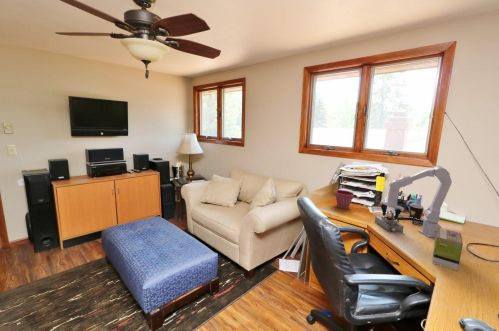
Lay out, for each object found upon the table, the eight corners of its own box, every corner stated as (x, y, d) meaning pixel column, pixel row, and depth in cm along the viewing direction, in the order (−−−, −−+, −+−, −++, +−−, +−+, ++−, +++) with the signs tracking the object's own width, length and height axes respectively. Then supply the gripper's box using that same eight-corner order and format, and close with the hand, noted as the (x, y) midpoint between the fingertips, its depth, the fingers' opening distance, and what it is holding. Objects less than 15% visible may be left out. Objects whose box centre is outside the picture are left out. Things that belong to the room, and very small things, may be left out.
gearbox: (404, 233, 149) (406, 225, 148) (389, 232, 149) (390, 224, 148) (388, 221, 167) (389, 214, 166) (374, 221, 167) (375, 214, 166)
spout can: (394, 221, 158) (395, 211, 156) (389, 221, 157) (391, 211, 155) (389, 218, 162) (390, 209, 160) (384, 219, 160) (386, 209, 159)
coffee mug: (424, 221, 170) (426, 208, 168) (412, 221, 170) (414, 208, 168) (413, 215, 181) (415, 203, 179) (402, 214, 181) (404, 202, 179)
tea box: (432, 251, 128) (437, 226, 126) (456, 258, 122) (462, 232, 119) (431, 263, 117) (436, 236, 114) (458, 271, 110) (464, 243, 108)
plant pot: (353, 206, 196) (355, 192, 194) (350, 211, 185) (352, 196, 182) (336, 203, 204) (337, 189, 202) (332, 207, 192) (333, 192, 190)
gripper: (407, 200, 152) (404, 220, 155) (384, 194, 164) (382, 212, 167) (402, 202, 149) (399, 222, 151) (379, 196, 161) (376, 214, 163)
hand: (389, 217), depth 159 cm, fingers open, 7 cm apart
